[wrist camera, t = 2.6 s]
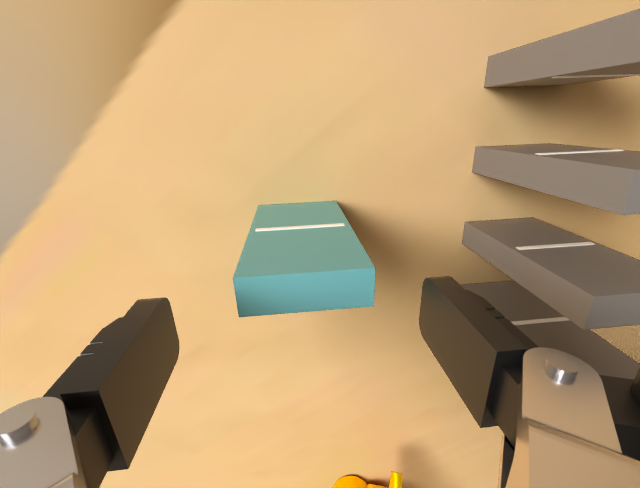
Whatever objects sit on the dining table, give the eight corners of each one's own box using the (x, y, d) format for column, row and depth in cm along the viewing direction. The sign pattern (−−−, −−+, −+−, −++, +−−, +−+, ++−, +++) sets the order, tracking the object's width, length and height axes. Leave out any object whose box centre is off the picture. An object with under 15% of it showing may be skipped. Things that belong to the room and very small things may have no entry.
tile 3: (533, 216, 22) (707, 286, 13) (528, 239, 23) (691, 320, 14) (465, 221, 22) (594, 295, 13) (461, 243, 22) (582, 330, 13)
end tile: (336, 200, 20) (375, 266, 11) (336, 225, 21) (373, 307, 12) (258, 204, 20) (232, 276, 11) (261, 229, 21) (239, 318, 11)
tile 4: (519, 279, 24) (663, 379, 15) (514, 298, 25) (650, 406, 15) (456, 284, 24) (563, 390, 14) (453, 303, 24) (554, 416, 15)
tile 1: (569, 53, 19) (850, -13, 9) (562, 85, 19) (818, 54, 10) (488, 55, 18) (696, -12, 9) (484, 88, 19) (673, 57, 10)
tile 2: (549, 142, 20) (767, 161, 11) (543, 169, 21) (745, 208, 12) (475, 145, 20) (636, 168, 11) (471, 173, 21) (621, 216, 11)
